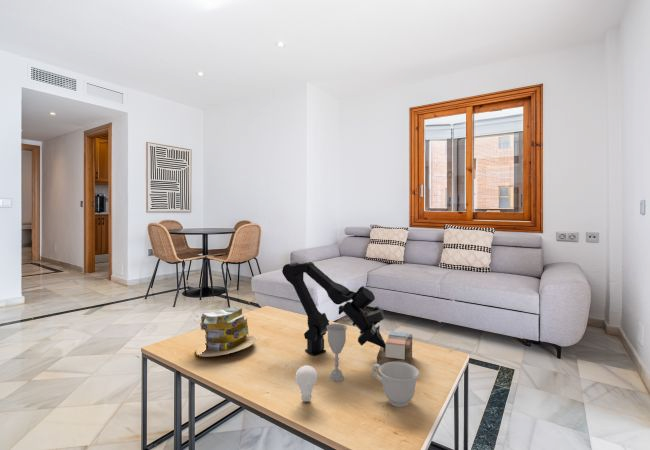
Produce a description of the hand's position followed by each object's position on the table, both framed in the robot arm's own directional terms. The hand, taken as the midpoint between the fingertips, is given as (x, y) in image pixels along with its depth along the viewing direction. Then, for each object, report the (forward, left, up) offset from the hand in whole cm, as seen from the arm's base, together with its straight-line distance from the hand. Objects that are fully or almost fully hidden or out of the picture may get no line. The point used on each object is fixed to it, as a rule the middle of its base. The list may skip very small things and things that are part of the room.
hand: (385, 347), depth 128 cm
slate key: (+9, +1, -3) cm, 9 cm away
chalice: (-20, +5, -7) cm, 22 cm away
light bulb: (-37, 0, -7) cm, 38 cm away
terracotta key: (+2, -3, -3) cm, 5 cm away
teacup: (-16, -17, -7) cm, 25 cm away
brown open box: (+5, -1, -7) cm, 9 cm away
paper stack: (-39, +53, -7) cm, 67 cm away
